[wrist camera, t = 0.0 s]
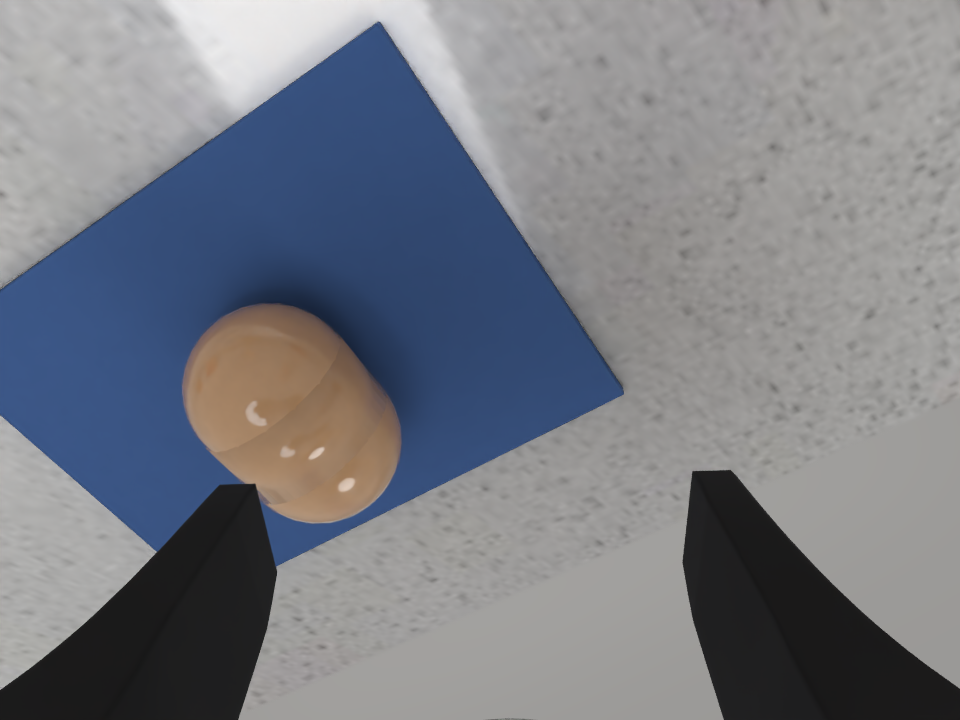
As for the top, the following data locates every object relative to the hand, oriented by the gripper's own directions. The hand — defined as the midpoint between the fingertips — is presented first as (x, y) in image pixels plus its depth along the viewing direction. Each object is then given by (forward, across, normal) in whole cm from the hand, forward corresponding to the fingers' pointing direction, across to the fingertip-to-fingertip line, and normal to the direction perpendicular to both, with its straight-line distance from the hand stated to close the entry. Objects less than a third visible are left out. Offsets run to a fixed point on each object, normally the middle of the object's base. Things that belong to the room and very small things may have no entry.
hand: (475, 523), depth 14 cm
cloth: (+10, +6, +3) cm, 12 cm away
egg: (+10, +5, +3) cm, 11 cm away
